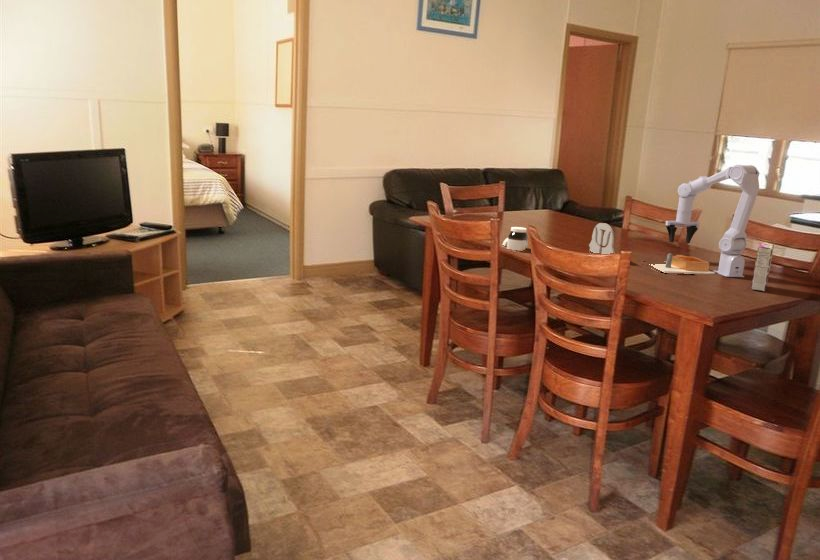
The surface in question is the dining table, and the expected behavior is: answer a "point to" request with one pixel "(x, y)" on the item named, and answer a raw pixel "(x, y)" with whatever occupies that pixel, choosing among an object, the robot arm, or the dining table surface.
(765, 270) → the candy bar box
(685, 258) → the wooden link
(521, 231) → the spread jar
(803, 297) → the dining table surface
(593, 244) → the ornament
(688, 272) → the board
